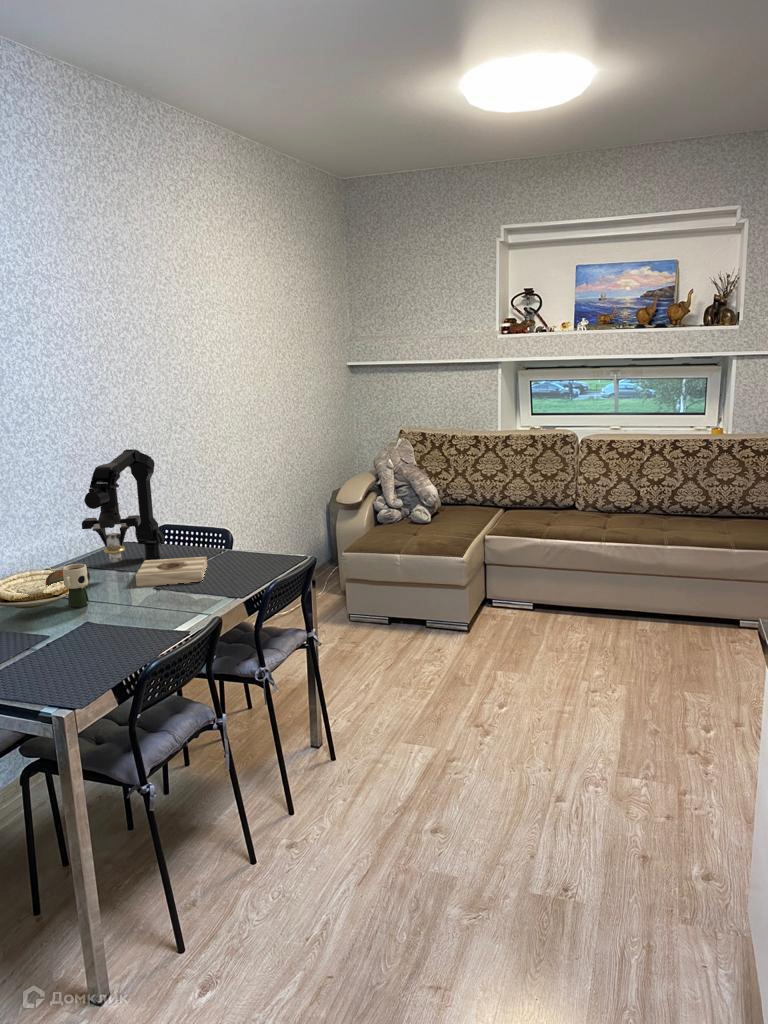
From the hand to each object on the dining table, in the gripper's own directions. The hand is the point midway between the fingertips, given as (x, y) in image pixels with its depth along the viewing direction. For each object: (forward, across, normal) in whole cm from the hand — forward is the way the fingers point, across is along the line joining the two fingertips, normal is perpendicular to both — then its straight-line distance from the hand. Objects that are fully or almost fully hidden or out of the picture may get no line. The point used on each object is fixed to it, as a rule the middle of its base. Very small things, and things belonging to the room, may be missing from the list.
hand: (114, 546), depth 272 cm
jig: (+12, +19, 0) cm, 23 cm away
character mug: (+13, -7, -25) cm, 29 cm away
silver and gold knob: (+5, 0, 0) cm, 5 cm away
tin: (+13, -14, -10) cm, 21 cm away
